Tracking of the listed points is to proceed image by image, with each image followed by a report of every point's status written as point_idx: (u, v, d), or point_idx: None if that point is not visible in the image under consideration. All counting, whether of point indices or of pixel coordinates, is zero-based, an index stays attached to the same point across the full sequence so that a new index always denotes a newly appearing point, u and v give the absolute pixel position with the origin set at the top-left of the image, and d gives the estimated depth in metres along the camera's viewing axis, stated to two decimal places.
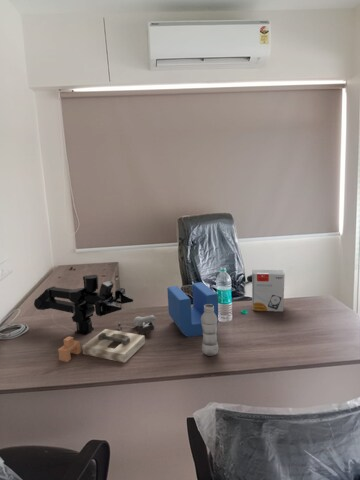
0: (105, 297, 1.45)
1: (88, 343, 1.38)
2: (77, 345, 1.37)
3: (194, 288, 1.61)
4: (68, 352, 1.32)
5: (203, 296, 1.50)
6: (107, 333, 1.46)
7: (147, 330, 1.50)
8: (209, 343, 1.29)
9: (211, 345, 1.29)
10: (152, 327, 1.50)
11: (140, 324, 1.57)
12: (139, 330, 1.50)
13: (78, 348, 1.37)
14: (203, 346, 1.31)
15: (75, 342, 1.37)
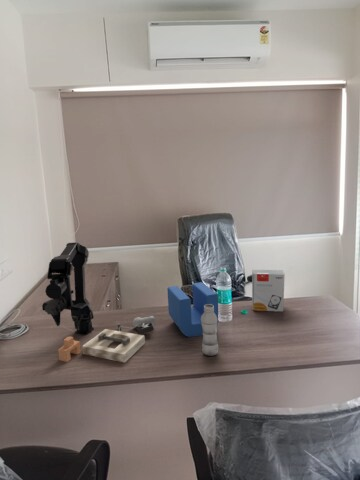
0: None
1: (88, 343, 1.38)
2: (77, 345, 1.37)
3: (194, 288, 1.61)
4: (68, 352, 1.32)
5: (203, 296, 1.50)
6: (107, 333, 1.46)
7: (147, 331, 1.50)
8: (209, 343, 1.29)
9: (211, 345, 1.29)
10: (152, 328, 1.50)
11: (140, 325, 1.56)
12: (139, 331, 1.49)
13: (78, 348, 1.37)
14: (203, 346, 1.31)
15: (75, 342, 1.37)
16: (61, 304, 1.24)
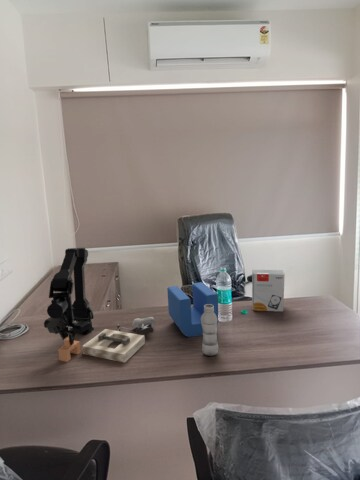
0: None
1: (88, 343, 1.38)
2: (77, 345, 1.37)
3: (194, 288, 1.61)
4: (68, 352, 1.32)
5: (203, 296, 1.50)
6: (107, 333, 1.46)
7: (146, 332, 1.49)
8: (209, 343, 1.29)
9: (211, 345, 1.29)
10: (151, 329, 1.49)
11: (139, 326, 1.55)
12: (138, 332, 1.48)
13: (78, 348, 1.37)
14: (203, 346, 1.31)
15: (75, 342, 1.37)
16: (62, 323, 1.25)
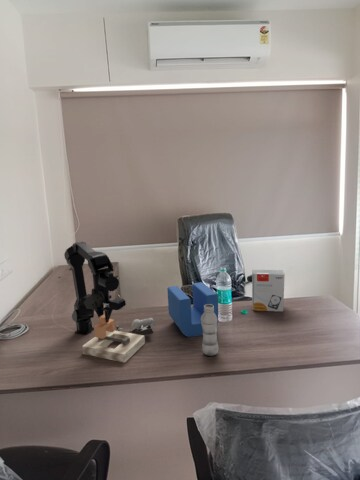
0: None
1: (88, 343, 1.38)
2: (112, 323, 1.38)
3: (194, 288, 1.61)
4: (104, 329, 1.34)
5: (203, 296, 1.50)
6: (107, 333, 1.46)
7: (145, 333, 1.47)
8: (209, 343, 1.29)
9: (211, 345, 1.29)
10: (150, 330, 1.47)
11: (138, 327, 1.54)
12: (137, 333, 1.47)
13: (113, 326, 1.39)
14: (203, 346, 1.31)
15: (110, 320, 1.39)
16: (100, 299, 1.27)
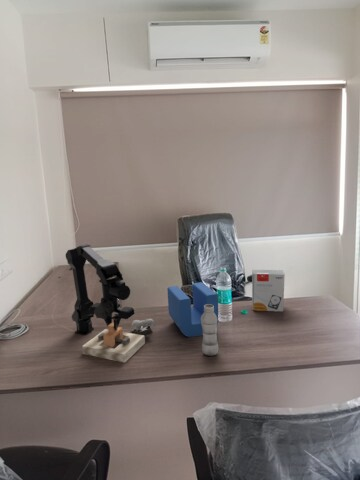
0: None
1: (88, 343, 1.38)
2: (120, 331, 1.40)
3: (194, 288, 1.61)
4: (113, 337, 1.36)
5: (203, 296, 1.50)
6: None
7: (145, 334, 1.47)
8: (209, 343, 1.29)
9: (211, 345, 1.29)
10: (150, 331, 1.47)
11: (138, 328, 1.53)
12: None
13: (121, 334, 1.41)
14: (203, 346, 1.31)
15: (118, 328, 1.41)
16: (110, 308, 1.29)
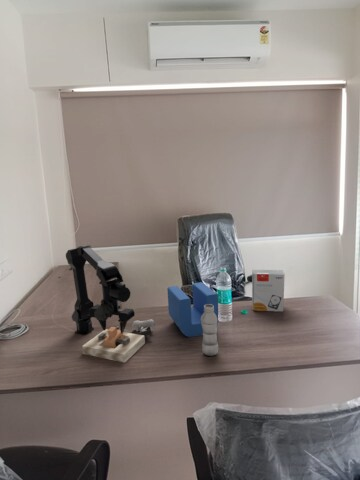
0: None
1: (88, 343, 1.38)
2: (120, 334, 1.41)
3: (194, 288, 1.61)
4: (113, 342, 1.36)
5: (203, 296, 1.50)
6: (107, 333, 1.46)
7: (144, 335, 1.46)
8: (209, 343, 1.29)
9: (211, 345, 1.29)
10: (150, 332, 1.46)
11: (138, 328, 1.53)
12: None
13: (121, 337, 1.41)
14: (203, 346, 1.31)
15: (118, 331, 1.41)
16: (110, 310, 1.29)
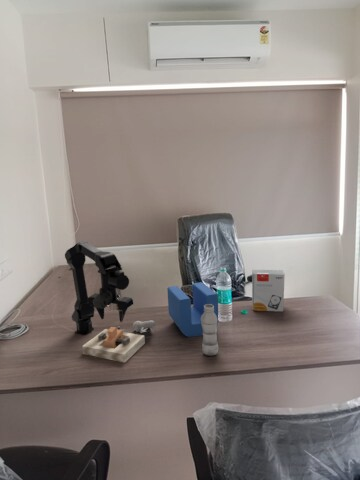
0: None
1: (88, 343, 1.38)
2: (120, 334, 1.41)
3: (194, 288, 1.61)
4: (114, 342, 1.36)
5: (203, 296, 1.50)
6: (107, 333, 1.46)
7: None
8: (209, 343, 1.29)
9: (211, 345, 1.29)
10: (149, 333, 1.45)
11: (139, 329, 1.52)
12: None
13: (121, 336, 1.41)
14: (203, 346, 1.31)
15: (118, 331, 1.41)
16: (109, 298, 1.29)
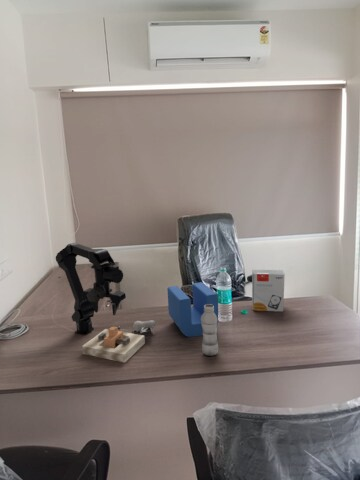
0: None
1: (88, 343, 1.38)
2: (121, 335, 1.41)
3: (194, 288, 1.61)
4: (113, 341, 1.36)
5: (203, 296, 1.50)
6: (107, 333, 1.46)
7: None
8: (209, 343, 1.29)
9: (211, 345, 1.29)
10: (149, 333, 1.45)
11: (139, 329, 1.52)
12: None
13: (121, 338, 1.41)
14: (203, 346, 1.31)
15: (118, 332, 1.41)
16: (102, 292, 1.35)
